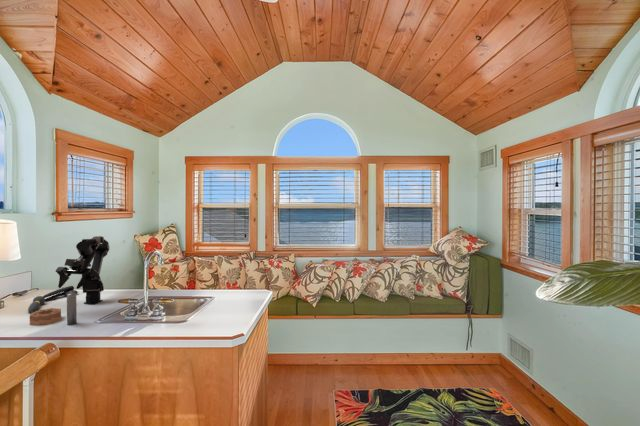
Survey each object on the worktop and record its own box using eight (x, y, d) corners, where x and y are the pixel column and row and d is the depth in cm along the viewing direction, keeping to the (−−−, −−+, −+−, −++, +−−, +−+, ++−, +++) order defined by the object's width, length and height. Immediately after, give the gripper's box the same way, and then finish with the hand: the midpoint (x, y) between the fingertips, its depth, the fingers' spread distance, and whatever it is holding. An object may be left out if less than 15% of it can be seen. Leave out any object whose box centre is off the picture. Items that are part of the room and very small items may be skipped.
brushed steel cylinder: (72, 322, 154) (71, 292, 153) (78, 322, 153) (78, 292, 153) (65, 324, 150) (64, 294, 150) (71, 325, 150) (71, 294, 149)
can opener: (70, 293, 200) (70, 284, 200) (79, 294, 198) (79, 285, 198) (37, 301, 183) (37, 291, 183) (46, 303, 181) (46, 293, 181)
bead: (47, 315, 161) (47, 307, 161) (66, 317, 160) (66, 309, 160) (23, 324, 151) (23, 315, 150) (44, 325, 149) (44, 317, 149)
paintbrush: (39, 312, 166) (39, 303, 166) (26, 314, 163) (26, 304, 163) (46, 302, 183) (46, 293, 183) (34, 303, 180) (34, 294, 180)
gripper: (57, 250, 165) (38, 279, 155) (93, 252, 164) (76, 281, 154) (71, 262, 173) (53, 289, 163) (105, 264, 172) (90, 292, 162)
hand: (68, 288), depth 160 cm, fingers open, 9 cm apart
